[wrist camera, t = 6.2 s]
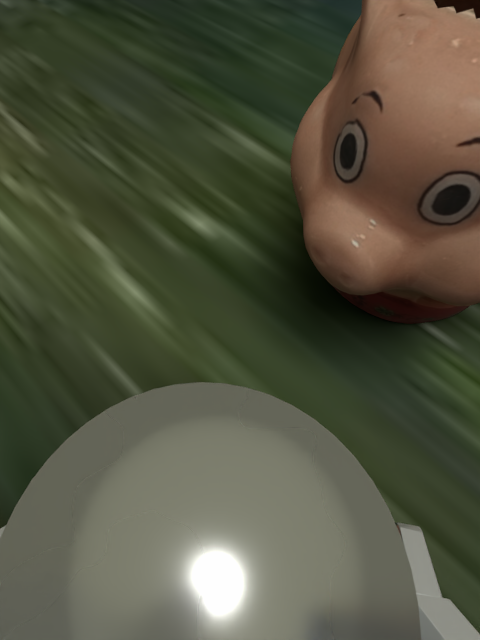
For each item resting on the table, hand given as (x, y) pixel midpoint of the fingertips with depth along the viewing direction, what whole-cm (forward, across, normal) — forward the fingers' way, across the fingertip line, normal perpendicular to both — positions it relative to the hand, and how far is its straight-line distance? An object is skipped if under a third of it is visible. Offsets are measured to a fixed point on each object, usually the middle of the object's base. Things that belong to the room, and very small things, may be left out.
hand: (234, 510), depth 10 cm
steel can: (+4, 0, +5) cm, 6 cm away
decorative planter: (+18, -7, -4) cm, 20 cm away
